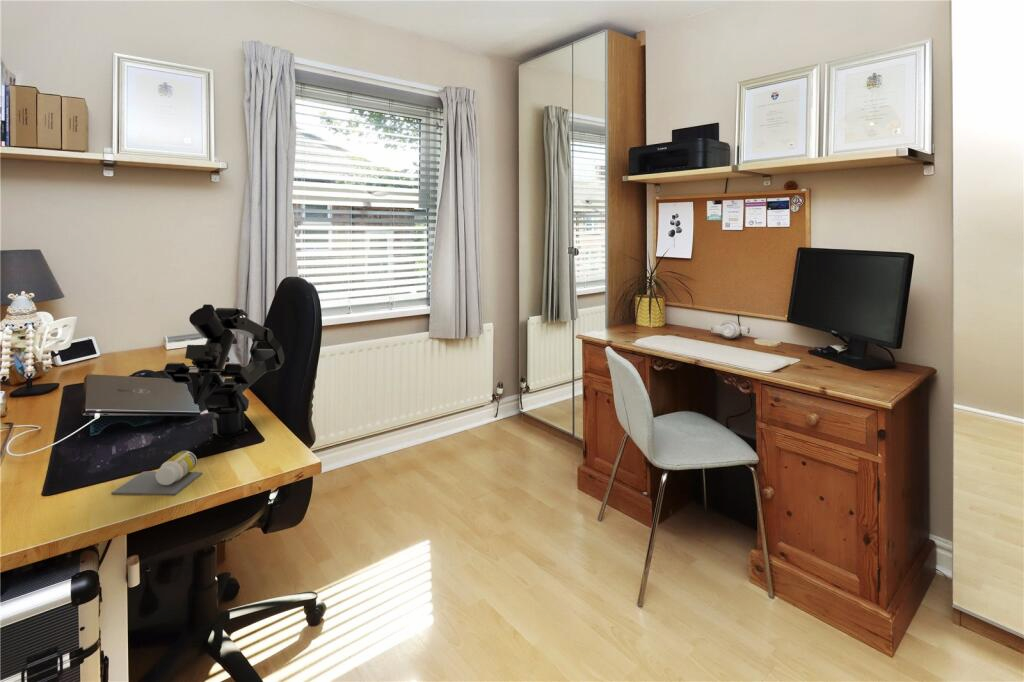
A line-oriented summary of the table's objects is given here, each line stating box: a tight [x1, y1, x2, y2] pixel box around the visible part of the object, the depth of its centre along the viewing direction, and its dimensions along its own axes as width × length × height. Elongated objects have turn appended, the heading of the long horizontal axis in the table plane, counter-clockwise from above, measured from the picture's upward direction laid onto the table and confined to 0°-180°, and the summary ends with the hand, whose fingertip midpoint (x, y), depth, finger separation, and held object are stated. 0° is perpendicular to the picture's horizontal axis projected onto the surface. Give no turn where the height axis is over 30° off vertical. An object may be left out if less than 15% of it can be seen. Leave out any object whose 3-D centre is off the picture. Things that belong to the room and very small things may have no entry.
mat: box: [110, 470, 203, 496], centre depth 117 cm, size 10×13×1 cm
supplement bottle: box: [155, 450, 198, 485], centre depth 118 cm, size 5×5×8 cm
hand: (196, 403), depth 130 cm, fingers closed
